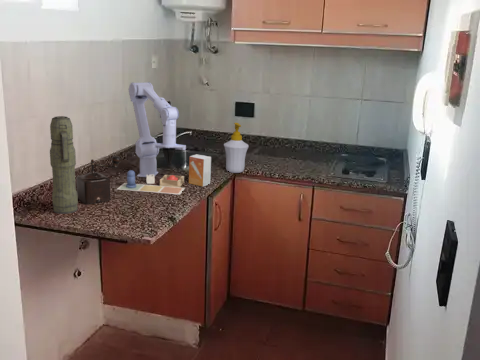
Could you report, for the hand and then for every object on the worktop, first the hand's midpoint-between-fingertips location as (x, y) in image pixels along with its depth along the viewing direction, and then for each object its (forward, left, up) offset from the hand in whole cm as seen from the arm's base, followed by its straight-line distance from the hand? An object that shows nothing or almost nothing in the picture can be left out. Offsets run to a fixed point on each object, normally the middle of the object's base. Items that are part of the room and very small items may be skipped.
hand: (169, 164), depth 220 cm
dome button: (-1, +1, -9) cm, 9 cm away
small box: (-5, +13, -10) cm, 17 cm away
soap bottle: (-32, +26, -10) cm, 43 cm away
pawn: (+9, -15, -9) cm, 19 cm away
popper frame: (-1, +1, -9) cm, 10 cm away
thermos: (+43, -29, -10) cm, 52 cm away
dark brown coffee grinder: (+27, -22, -10) cm, 36 cm away
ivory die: (0, -9, -9) cm, 13 cm away
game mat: (+9, -6, -9) cm, 14 cm away
